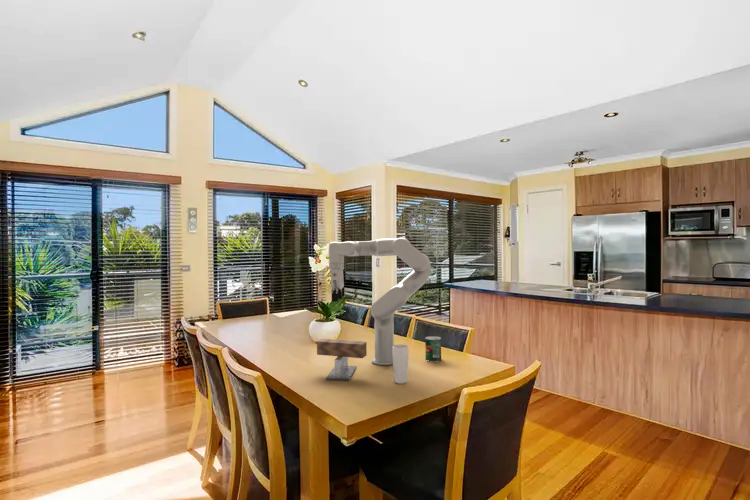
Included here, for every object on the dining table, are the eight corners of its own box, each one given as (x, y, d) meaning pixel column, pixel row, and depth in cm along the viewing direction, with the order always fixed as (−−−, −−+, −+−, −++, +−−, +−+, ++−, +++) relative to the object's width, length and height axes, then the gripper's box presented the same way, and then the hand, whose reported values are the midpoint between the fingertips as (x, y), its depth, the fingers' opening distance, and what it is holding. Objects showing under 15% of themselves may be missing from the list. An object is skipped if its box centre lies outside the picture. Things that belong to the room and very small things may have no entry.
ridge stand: (356, 368, 181) (356, 350, 181) (348, 381, 163) (348, 361, 163) (335, 367, 182) (335, 349, 182) (325, 380, 164) (325, 360, 164)
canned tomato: (422, 359, 193) (421, 337, 193) (432, 356, 198) (432, 335, 198) (434, 362, 187) (434, 340, 187) (444, 359, 192) (444, 337, 192)
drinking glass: (404, 385, 156) (403, 349, 156) (389, 383, 160) (389, 347, 160) (411, 380, 162) (411, 345, 162) (397, 378, 165) (397, 343, 165)
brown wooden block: (366, 355, 171) (366, 341, 171) (362, 358, 167) (362, 344, 167) (322, 351, 178) (321, 338, 178) (317, 354, 174) (316, 341, 174)
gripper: (340, 267, 185) (340, 302, 185) (347, 265, 202) (347, 298, 202) (325, 267, 186) (325, 302, 186) (333, 265, 203) (333, 298, 203)
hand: (337, 300), depth 194 cm, fingers open, 9 cm apart
